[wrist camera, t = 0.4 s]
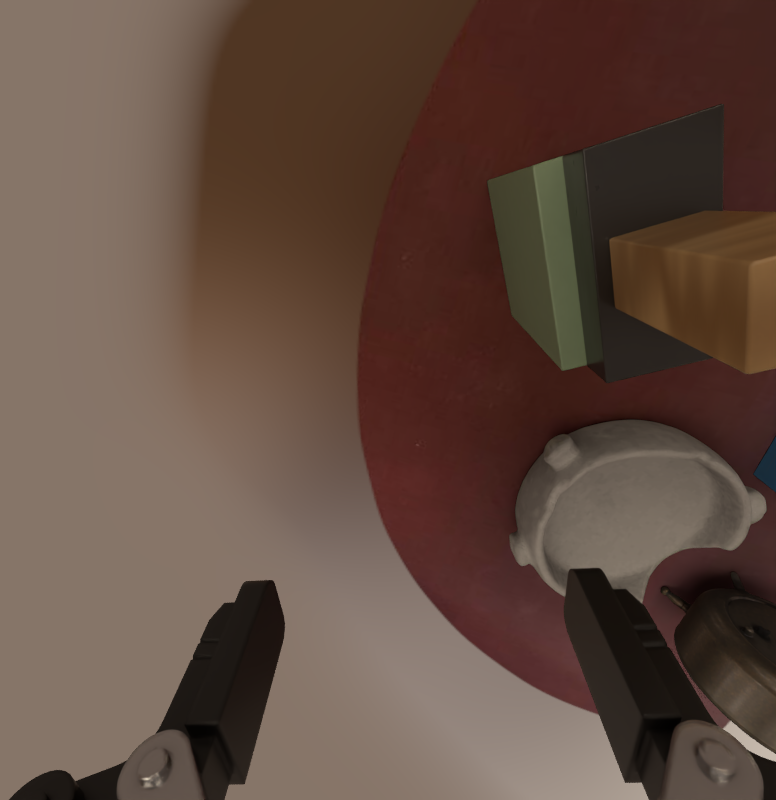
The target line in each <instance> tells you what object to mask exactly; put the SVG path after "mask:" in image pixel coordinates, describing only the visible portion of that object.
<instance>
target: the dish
mask: <svg viewBox="0 0 776 800" xmlns="http://www.w3.org/2000/svg"><path fill="white" fill-rule="evenodd" d="M766 511H767V509H766V501H765V498H764V497H763V496H762V494H761V493H760V492H758V491H757V490H755V489H753V488H751V487H747V486H744V484H743V483H742V481H741V479H740V478H739V476H738V474H737V473H736V472H735V471H734V470H733V468H732V467H731V466H730V465H729V464H728V463H727V462H726V461H725V460H724V459H723V458H722V457H720V456H719V455H718V454H717V453H716V452H714V451H713V450H712V449H710V448H709V447H708V446H706V445H705V444H703V443H702V442H700V441H699V440H697V439H696V438H694V437H692V436H690V435H689V434H687V433H685V432H683V431H681V430H678V429H676V428H674V427H671V426H667V425H664V424H661V423H656V422H652V421H645V420H617V421H610V422H604V423H599V424H595V425H591V426H587V427H584V428H581V429H579V430H576V431H574V432H572V433H570V434H568V435H567V434H561V435H558V436H556V437H554V438H552V439H551V440H550V441H549V442H548V443H547V444H546V446H545V448H544V452H543V453H542V454H541V456H540V457H539V458H538V459H537V460H536V461H535V463H534V464H533V465H532V467H531V468H530V470H529V471H528V473H527V475H526V476H525V478H524V480H523V482H522V485H521V488H520V490H519V493H518V496H517V501H516V507H515V515H516V522H517V527H518V530H517V531H516V532H514V533H511V534H510V535H509V539H510V547H511V550H512V552H513V554H514V556H515V559H516V561H517V562H518V564H519V565H521V566H524V565H527V564H531V565H532V566H533V567H534V568H535V569H536V571H537V572H538V574H539V575H540V576H541V578H542V579H543V580H544V581H545V582H546V583H547V584H548V585H549V586H550V587H551V588H552V589H553V590H554V591H556V592H558V593H559V594H561V595H562V596H564V597H565V595H566V586H567V578H568V572H569V570H570V569H579V568H600V569H602V571H603V572H604V573H605V575H606V577H607V579H608V581H609V583H610V584H611V586H612V588H613V589H627V590H628V591H629V592H630V593H631V594H632V595H633V596H634V597H635V598H636V599H638V600H639V601H640V602H641V603H642V602H643V598H644V594H645V589H646V586H647V583H648V580H649V577H650V575H651V574H652V572H653V571H654V570H655V568H656V567H657V566H658V565H659V563H661V562H662V561H663V560H664V559H665V558H667V557H668V556H670V555H672V554H674V553H676V552H678V551H681V550H684V549H688V548H713V547H718V548H722V549H725V550H734V549H736V548H737V547H738V546H739V545H740V544H741V543H742V542H743V541H744V539H745V537H746V536H747V533H748V530H749V527H750V524H753V523H755V522H757V521H759V520H760V519H761V518H762V517H763V515H764V514H765V512H766Z"/></svg>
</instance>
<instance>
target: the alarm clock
mask: <svg viewBox="0 0 776 800" xmlns="http://www.w3.org/2000/svg"><path fill="white" fill-rule="evenodd" d="M731 578H732V581H733V584H734V588H733V589H724V588H718V589H711V590H707V591H705V592H703V593H701V594H700V595H699V596H698V597H697V599H696V600H695V602H694V603H693V604H692V605H691V604H689V603H687V602H686V601H685V600H683V599H682V598H680V597H679V596H677V595H675V594H673V593H671V592H670V590H669V589H668V588H667V587H662V588H661V593H662V594H664V595H667V597H668V598H669V599H670V600H671V601H672V602H673V603H674V604H676V605H677V606H679V607H680V608H681V609H683V610H684V611H685V612H686V615H685V616H684V618H683V619H682V621H681V622H680V623H679V625H678V626H677V627H676V630H675V634H674V640H675V645H676V649H677V652H678V655H679V657H680V659H681V661H682V663H683V665H684V667H685V669H686V670H687V672H688V673H689V675H690V677H691V678H692V679H693V681H694V682H695V683H696V685H697V686H698V687H699V688H700V690H701V691H702V692H703V693H704V694H705V695H706V696H707V698H708V699H709V700H710V701H711V702H712V703H713V704H714V705H715V706H716V707H717V708H718V709H719V710H720V711H721V712H722V713H723V714H724V715H725V716H726V717H727V718H728V719H730V720H731V721H732V722H733V723H734V724H736V725H737V726H738V727H739V728H740V729H741V730H743V731H744V732H745V733H746V734H748V735H749V736H750V737H751V738H753V739H755V740H756V741H757V742H759V743H760V744H761V745H763V746H764V747H766V748H767V749H769V750H771V751H772V752H774V753H775V754H776V604H774V603H772V602H770V601H768V600H765V599H763V598H760V597H758V596H755V595H752V594H750V593H748V592H747V591H745V588H744V587H743V585H742V583H741V581H740V578H739V577H738V575H737V574H736V573H735V572H731Z"/></svg>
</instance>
